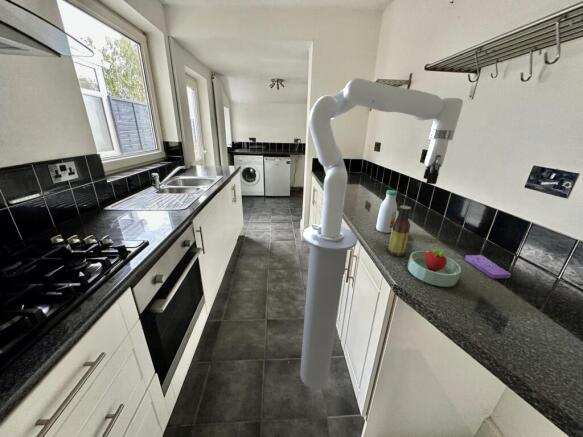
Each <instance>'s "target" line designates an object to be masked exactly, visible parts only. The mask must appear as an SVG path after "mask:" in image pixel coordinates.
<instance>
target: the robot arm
mask: <svg viewBox="0 0 583 437" xmlns="http://www.w3.org/2000/svg"><path fill="white" fill-rule="evenodd" d="M463 104H464V100H463V99H462V98H459V97H447V98H445V97H444V98H441V97H440V96H439V95H437V94H435V93H429V92H425V91H422V90H417V89H411V88H406V87H400V86H393V85H388V84H385V83H380V82H376V81H372V80H368V79H364V78H358V77H356V78H352V79H351V80H349V81H348V83H347V84H346V86H345V88H343V89H341V90H339V92H337V93H335V94H333V95H330V94H325V95H323V96H321V97H320V98H318V99H317V100H316V102H315V103H314V104H313V106H312V108H311V110H310V113H309V116H308V125H309V131H310V134H311V139H312V142H313V145H314V149H315V152H316V156H317V159H318V162H319V163H320V165H321V166H322V167H323V170H324V172H325V177H324V180H323V195H322V207H321V216H320V218H321V220H320V224H316V223H312V224H311V226H312V228H313V229H314V230H318V231H317V236H318V237H319V238H321V239H323V240H326V241H339V240H341V239H342V238H343V233H342V232H341V227H342V224H343V215H344V208H345V200H346V193H347V188H348V187H347V186H348V171H347V168H346V164H345V161H344V158H343V155H342V151H341V148H340V146H339V145H337V143H336V140H335V136H334V133H333V129H332V126H331V125H332V124H331V121H332V120H334V119H336V118H338V117H340V116H341V115H343V114H345V113H348V112H349V111H350V110H352V109H354V108H356V107H357V106H360V107H364V108H367V109H372V110H376V111H379V112H384V113H400V114H404V115H410V116H412V117H413V118H414V119H415V120H418V121H429V120H432V126H431V130H430V134H429V137H428V139H429V140H430V143H429V146H428V149H427V152H426V156H425V159H424V165H425V166H426V168H425V170H424V174H423V177H422V178H423V180H424V179H425V180H426V182H425V183H426V184H428V185H429V184H431V185H437V181H438V178H439V174H440V169H441V168H442V167H443V164H444V162H445V157H446V154H447V150H448V145H449V141H453V139H454V135H455V132H456V129H457V125H458V122H459V119H460V116H461V112H462V109H463Z"/></svg>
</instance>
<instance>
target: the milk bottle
mask: <svg viewBox="0 0 583 437" xmlns="http://www.w3.org/2000/svg"><path fill="white" fill-rule="evenodd" d="M397 195H398V191H396V190H393V189H387V190H386V194H385V198H384V200H383V201H382V202H381V204H380V207H379V210H378V216H377V221H376V227H375V228H376V229H375V230H376V231H379V232H380V233H385V234H391V232H392V226H393V224H394V223H395V221H396V218H397V217H396V216H397V211H398V204H397V201H396V197H397Z"/></svg>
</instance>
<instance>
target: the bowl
mask: <svg viewBox="0 0 583 437" xmlns="http://www.w3.org/2000/svg"><path fill="white" fill-rule="evenodd" d="M429 251H430V250H416V251H413V252H411V253H410V255H409V258H408V262H407V270H408V271H409V272H410V274H411V275H412V276H413V277H415V278H417V279H418V280H420V281H422V282H424V283H426V284H429V285H433V286H437V287H443V288H449V287H454V286H455V285H456V284H457V283H458V281H459V278H460V276H461V273H462V267H461V265H460V264H459V263H458V262H457V261H455V260H454V259H452V258H450V257H449V256H446V257H445V258H446V260H447V263H446V265H445V267H444V268H443V269H441V270H439V271H437V272H433V271H430V270H428V268H427V265H426V262H425V254H426V253H427V252H429Z"/></svg>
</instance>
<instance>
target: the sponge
mask: <svg viewBox="0 0 583 437" xmlns="http://www.w3.org/2000/svg"><path fill="white" fill-rule="evenodd" d="M464 260H465V261H466V262H468V263H469V264H471V265H472V266H474V268H477V269H478V270H479V271H481V272H482V273H484V274H485V275H486V276H488V277H489V278H491V279H510V278H511V276H512V273H510V272H509V271H507V270H505V269H504V268H502V267H500V266H499V265H497V264H496V263H495V262H493V261H492V260H490V259H488V258H487V257H486V256H484V255H482V254H476V255H469V254H468V255H467V254H466V255H465V258H464Z"/></svg>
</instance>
